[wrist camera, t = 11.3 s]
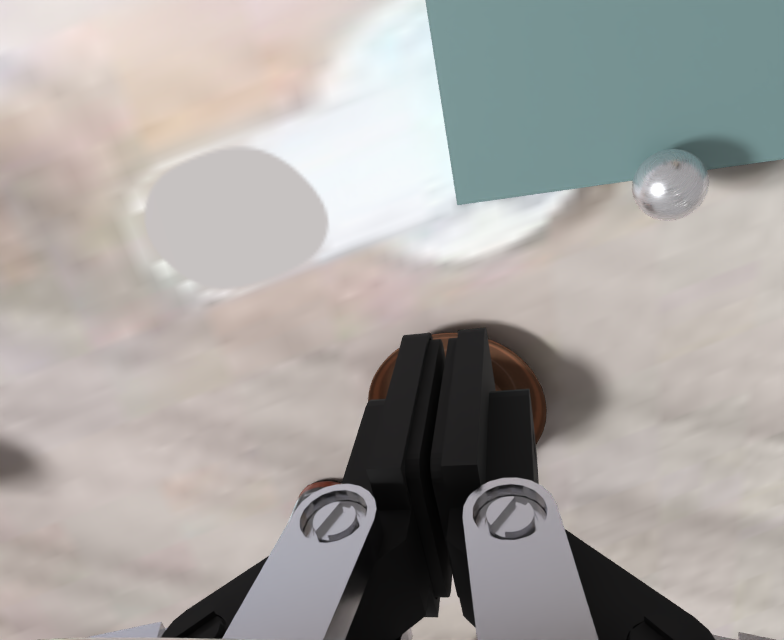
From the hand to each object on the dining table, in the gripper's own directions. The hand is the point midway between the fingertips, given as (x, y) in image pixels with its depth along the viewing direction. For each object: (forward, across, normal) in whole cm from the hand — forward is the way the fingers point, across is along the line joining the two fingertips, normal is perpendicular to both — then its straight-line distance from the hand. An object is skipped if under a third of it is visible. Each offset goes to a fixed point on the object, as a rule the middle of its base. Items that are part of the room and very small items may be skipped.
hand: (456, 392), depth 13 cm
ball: (+21, -8, +3) cm, 23 cm away
